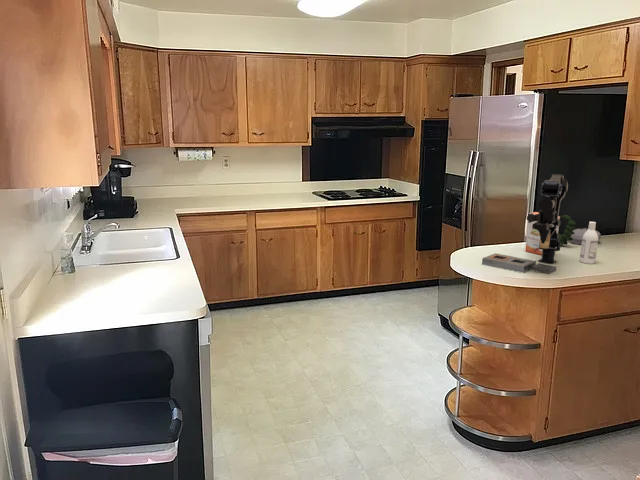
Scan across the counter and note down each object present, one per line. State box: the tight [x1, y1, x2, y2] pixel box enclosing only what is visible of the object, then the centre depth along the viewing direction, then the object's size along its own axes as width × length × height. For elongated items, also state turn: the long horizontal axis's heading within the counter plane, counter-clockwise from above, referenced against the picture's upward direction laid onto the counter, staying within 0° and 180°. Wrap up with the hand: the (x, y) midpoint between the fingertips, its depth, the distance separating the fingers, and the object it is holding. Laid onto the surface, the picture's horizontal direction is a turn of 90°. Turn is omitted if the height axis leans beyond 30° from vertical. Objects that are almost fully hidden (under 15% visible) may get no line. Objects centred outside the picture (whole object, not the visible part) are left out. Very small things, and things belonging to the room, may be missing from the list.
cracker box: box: [524, 211, 561, 256], centre depth 269 cm, size 14×6×21 cm, turn 35°
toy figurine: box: [558, 214, 577, 246], centre depth 294 cm, size 9×19×25 cm
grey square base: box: [531, 262, 557, 275], centre depth 239 cm, size 8×8×2 cm
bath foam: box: [579, 221, 599, 265], centre depth 254 cm, size 7×7×20 cm
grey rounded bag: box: [568, 227, 602, 245], centre depth 300 cm, size 15×8×20 cm
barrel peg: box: [539, 233, 551, 248], centre depth 237 cm, size 4×4×7 cm
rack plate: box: [481, 253, 537, 273], centre depth 246 cm, size 14×20×3 cm
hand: (544, 242), depth 237 cm, fingers closed on barrel peg, 4 cm apart
